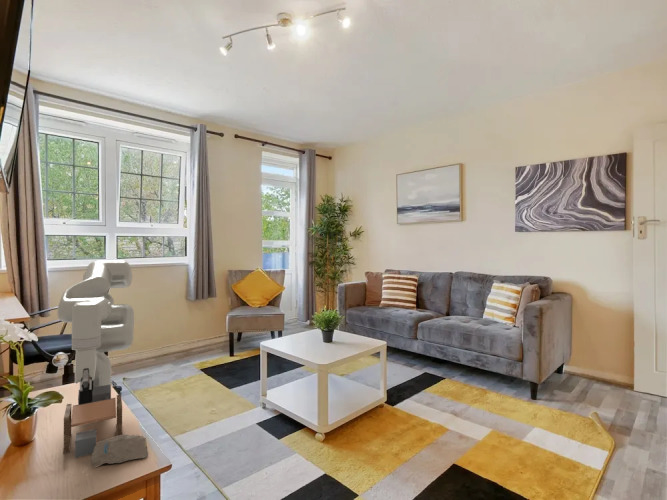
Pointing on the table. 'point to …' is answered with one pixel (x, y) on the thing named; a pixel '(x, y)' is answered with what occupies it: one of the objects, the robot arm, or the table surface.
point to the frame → (68, 424)
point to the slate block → (85, 443)
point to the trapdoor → (95, 407)
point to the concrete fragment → (119, 449)
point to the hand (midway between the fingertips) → (86, 396)
